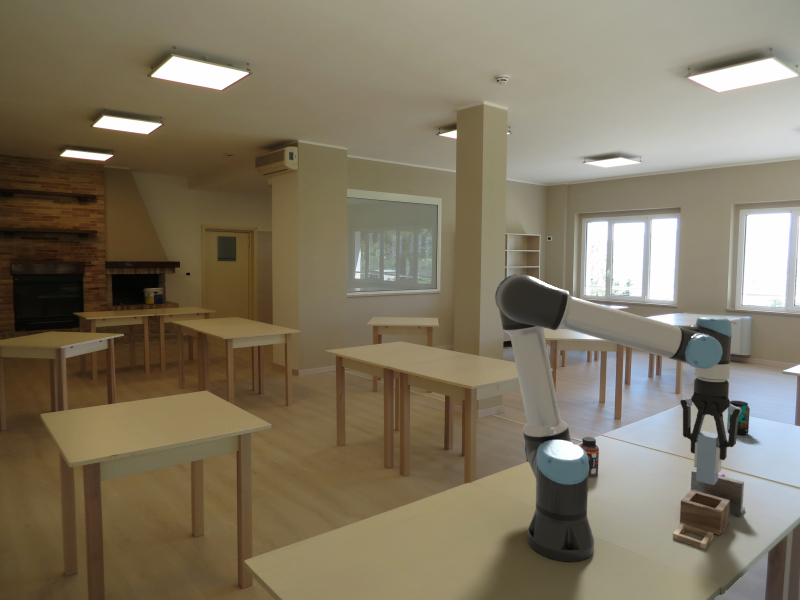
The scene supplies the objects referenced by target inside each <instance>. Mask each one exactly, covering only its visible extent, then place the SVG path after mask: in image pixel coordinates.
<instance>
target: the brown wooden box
mask: <svg viewBox="0 0 800 600" xmlns="http://www.w3.org/2000/svg"><path fill="white" fill-rule="evenodd" d="M679 508H680V513H679V523H680V524H681V523H684V524H687V525H690V526H693V527H696V528H699V529H702V530H705V531H709V532H712V533H713V535H714V534H715V535H717V536H721V534H722V533H723V531H724V530H725V528H726V527H727V525H728V524H729V522H730V514H729V509H730V500H727V499H724V498H720V497H716V496H713V495H709V494H706V493H702V492H699V491H695V490H691V489H690V490H689V491H688V492H687V493H686V495H684V496H683V497H682V498H681V500H680V507H679Z"/></svg>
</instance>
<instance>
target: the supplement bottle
mask: <svg viewBox="0 0 800 600" xmlns="http://www.w3.org/2000/svg"><path fill="white" fill-rule="evenodd" d="M581 442H582V443H580V444H579V446H580V447H581V448H583V449H584V450H585V452H586V453H587V456H588V463H589V473H588V478H589V477H590V478H591V477H596V476H598V475H599V459H600V458H599V455H600V449H599V446H598V445H597V439H596V438H594V437H591V436H584V437H582V440H581Z"/></svg>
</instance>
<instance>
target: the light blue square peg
mask: <svg viewBox="0 0 800 600" xmlns="http://www.w3.org/2000/svg"><path fill="white" fill-rule="evenodd" d="M718 445H719V439H718V434H717V433H715V432H709V431H706V430H702V431H700V433H699V434H698V447H697V468H696V470H697V471H696V481H700V482H704V483H708V484H711V485H714V484H715V483H716V482H717V481H718V473H716V472H715V463H716V447H717V446H718Z"/></svg>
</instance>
